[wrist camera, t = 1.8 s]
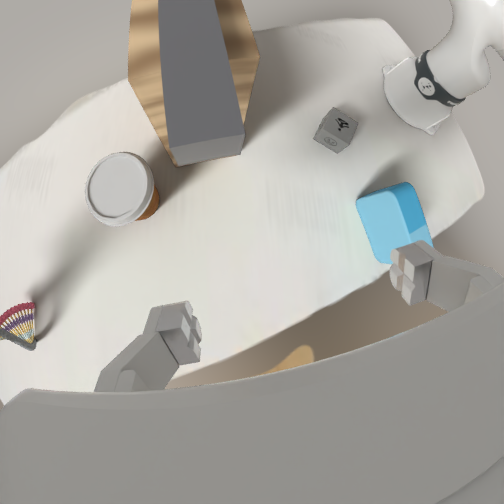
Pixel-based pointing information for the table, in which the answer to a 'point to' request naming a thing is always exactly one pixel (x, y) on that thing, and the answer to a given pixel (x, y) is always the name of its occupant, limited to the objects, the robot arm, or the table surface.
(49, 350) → the table surface
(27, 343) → the dna model
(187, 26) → the grey rectangular bar
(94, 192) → the disposable coffee cup
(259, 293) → the table surface
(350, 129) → the dice cube
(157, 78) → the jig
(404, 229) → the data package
